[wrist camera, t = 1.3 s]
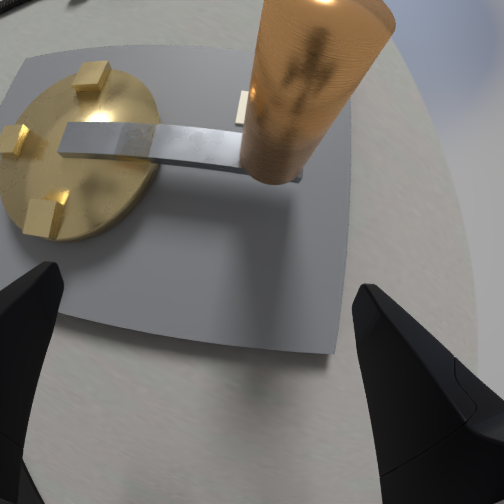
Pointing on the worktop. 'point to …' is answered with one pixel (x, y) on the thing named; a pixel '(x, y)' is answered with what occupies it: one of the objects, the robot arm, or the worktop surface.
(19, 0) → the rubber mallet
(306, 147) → the brass wheel crank mechanism
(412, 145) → the worktop surface
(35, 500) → the cell phone
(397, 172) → the worktop surface
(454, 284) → the worktop surface
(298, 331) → the grey rectangular board
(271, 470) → the worktop surface
